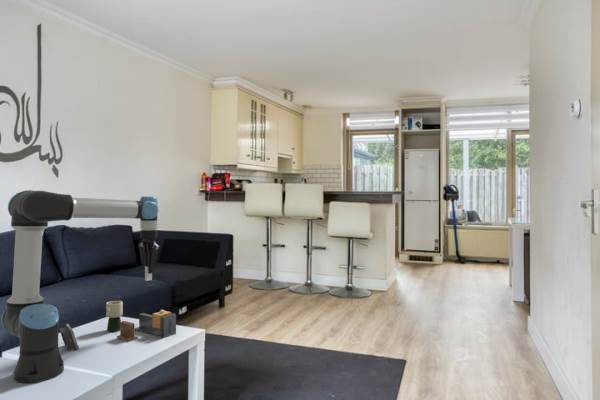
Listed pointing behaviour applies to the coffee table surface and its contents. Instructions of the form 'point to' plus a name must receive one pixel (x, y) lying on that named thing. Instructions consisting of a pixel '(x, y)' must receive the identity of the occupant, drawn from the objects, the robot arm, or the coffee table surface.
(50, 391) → the coffee table surface
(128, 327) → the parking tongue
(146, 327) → the rail
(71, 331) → the electrical switch
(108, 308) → the character mug
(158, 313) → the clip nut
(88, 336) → the coffee table surface
